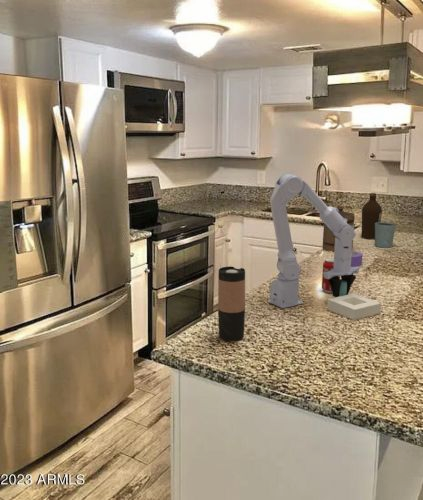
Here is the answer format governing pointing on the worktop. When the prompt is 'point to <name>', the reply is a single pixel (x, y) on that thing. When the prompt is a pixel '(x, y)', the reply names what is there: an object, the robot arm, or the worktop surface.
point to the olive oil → (370, 217)
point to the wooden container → (328, 234)
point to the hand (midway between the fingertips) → (340, 295)
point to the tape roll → (356, 259)
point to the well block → (354, 306)
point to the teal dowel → (343, 288)
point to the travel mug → (231, 303)
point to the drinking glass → (384, 234)
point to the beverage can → (327, 267)
